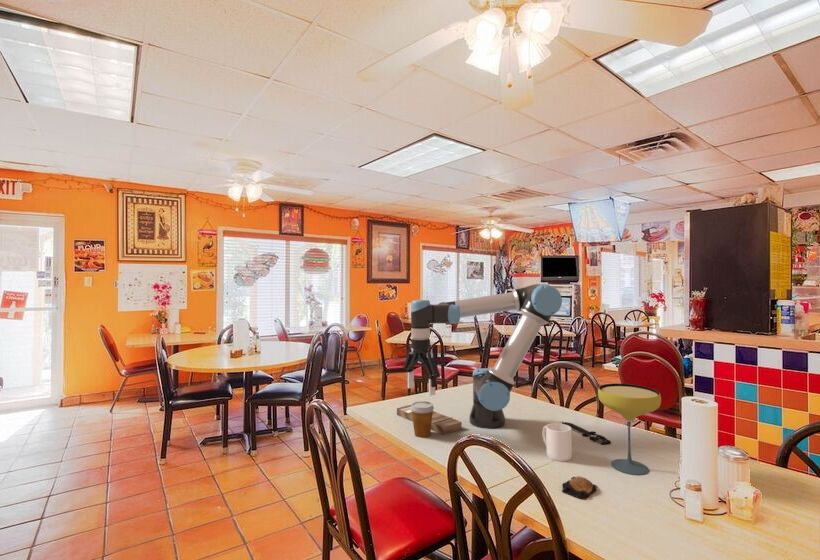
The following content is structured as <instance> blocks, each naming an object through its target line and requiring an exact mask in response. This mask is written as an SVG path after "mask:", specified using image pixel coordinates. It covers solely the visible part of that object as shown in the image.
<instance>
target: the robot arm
mask: <svg viewBox="0 0 820 560" xmlns="http://www.w3.org/2000/svg"><path fill="white" fill-rule="evenodd" d="M562 304H563V298H562V295H561V292H560V291H559V290H558V288H556V287H555V286H552V285H550V284H546V283H545V284H544V283H543V284H539V283H538V284H537V283H534V284H531V285H528V286H525V287H519V288H515V289H513V290H512V291H511V292H505V293H499V294H491V295H486V296H478V297H472V298H466V299H465V298H464V299H460V300H454V301H447V302H446V301H442V302H439V303H438V304H431V301H430V300H428V299H413V300H412V301H411V305H410V306H411V307H410V309H411V310H410V318H411V319H410V320H411V321H410V323H411V329H410V333H411V335H410V338H411V340H410V341H411V345H410V346H411V347H410V348H408V349H407V355H406V358H405V361H404V364H403V370H404V371H406V379H407V389H414V388H415V372H414V368H415V367H416V365H417V364H418V362H419V363H421V364H422V365H423V366H424V368H425V370H426V372H427V374H428V376H429V377H428V396H430V397H431V396H435V395H436V387H437V379H438V378H440V377H441V374H440V371H439V368H438V364H437V362H436V356H435V352H434V351H433V352H429V349H430V348H431V339H430V337H431V324H447V325H448V324H450V325H453V324H459V323H460V321H461V318H468V317H473V316H475V317H476V316H481V315H488V314H494V313H501V312H507V311H508V312H509V311H516V312H521V315H520V318H519V319H518V320H517V321H518V322H517V324H516V325H515V327H514V329H513V330H512V333H511V334H510V336H509V338H508V340H507V341H506V344H505V346H504V347H503V349H502V351H501V353H500V354H499V356H498V358H497V360H496V362H495V364H494V366H493V367H489V368H484V367H483V368H481V367H480V368H475V369H474V370H472V396H473V397H472V401H473V402H472V403H473V404H472V407H471V410H470V414H469V423H470V424H471V425H473V426H475V427H477V428H484V429H494V428H495V429H496V428H501V427H503V426H504V425H505V424H506V417H505V414H504V411H503V409H505V408H506V407H507V406H508V404H509V403H510V400H511V391H512V389H513V388H514V386H515V381H514V377H515V375H516V374H517V371H518V370H519V369H520V366H521V364H522V363H523V362H524V359H525V357H526V355H527V354H528V353H529V352H528V351H529V349H530V348H531V347H532V344H533V343H534V341H535V339H536V337H537V335H538V334H539V331H540V330H541V328H542V326H544V325H547V324H549V321H550V320H551V318H552V316H553V315H555V314H556V313H558V312H559V311H560V310H561V307H562Z"/></svg>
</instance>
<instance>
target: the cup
mask: <svg viewBox="0 0 820 560" xmlns="http://www.w3.org/2000/svg"><path fill="white" fill-rule="evenodd" d="M541 434H542V435H541V437H542V441H543V443H544V444H545V447H546V450H545V453H546V455H547V457H548V458H549V459H551V460H552V461H556V462H567V461H571V459H572V456H573V449H572V448H573V447H572V445H573V444H572V442H573V441H572V436H573V435H572V434H573V433H572V429H571V427H570V426H568V425H565V424H562V423H559V422H552V423H548V424H546V425H544V426H543V427H542V432H541Z"/></svg>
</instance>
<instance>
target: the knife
mask: <svg viewBox="0 0 820 560" xmlns="http://www.w3.org/2000/svg"><path fill="white" fill-rule="evenodd" d="M561 424H565V425H568V426H570V427H571V431H574V432H577V433H579V434H580V435H582V437H586V438H587V437H589V440H590V441H592V442H595V443H596V442H600V445H601V446H606V445H611V444H612V441H611V440H609V439H607V438H606V436H603V435H601V434H597V431H593V430H592V431H589V430H588V429H584V428H582V427H580V426H578V425H577V424H575V423H572V422H569V421H568V422H566V421H561Z"/></svg>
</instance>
